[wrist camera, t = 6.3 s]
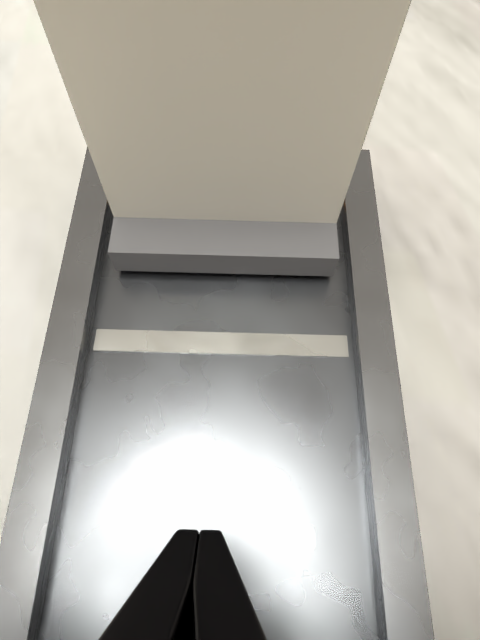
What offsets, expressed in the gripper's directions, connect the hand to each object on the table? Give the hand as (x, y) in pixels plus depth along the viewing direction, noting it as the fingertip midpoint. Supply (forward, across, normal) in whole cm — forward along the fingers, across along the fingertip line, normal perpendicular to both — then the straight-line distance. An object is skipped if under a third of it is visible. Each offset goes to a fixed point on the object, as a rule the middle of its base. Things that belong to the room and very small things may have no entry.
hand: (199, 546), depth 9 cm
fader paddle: (+11, 0, -5) cm, 12 cm away
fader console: (+7, 0, +2) cm, 8 cm away
